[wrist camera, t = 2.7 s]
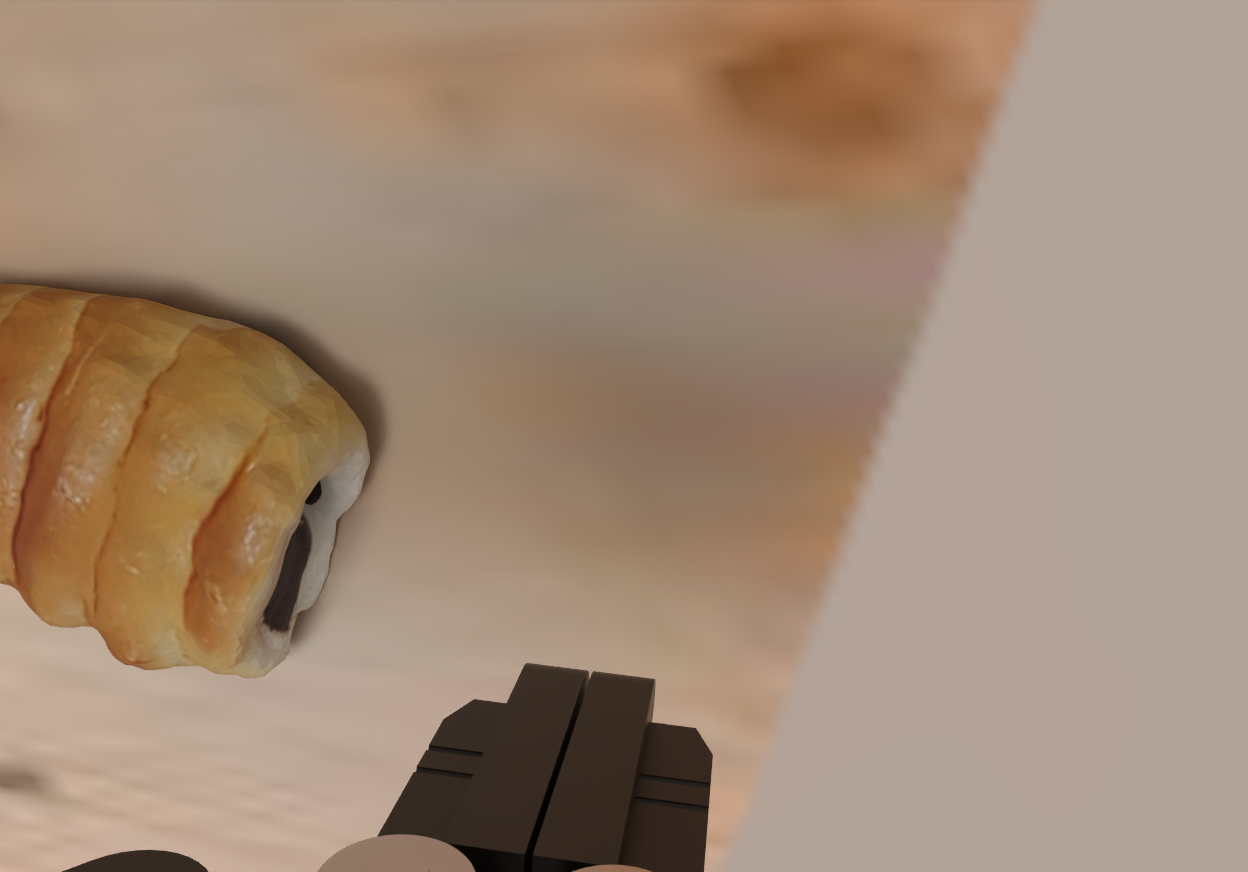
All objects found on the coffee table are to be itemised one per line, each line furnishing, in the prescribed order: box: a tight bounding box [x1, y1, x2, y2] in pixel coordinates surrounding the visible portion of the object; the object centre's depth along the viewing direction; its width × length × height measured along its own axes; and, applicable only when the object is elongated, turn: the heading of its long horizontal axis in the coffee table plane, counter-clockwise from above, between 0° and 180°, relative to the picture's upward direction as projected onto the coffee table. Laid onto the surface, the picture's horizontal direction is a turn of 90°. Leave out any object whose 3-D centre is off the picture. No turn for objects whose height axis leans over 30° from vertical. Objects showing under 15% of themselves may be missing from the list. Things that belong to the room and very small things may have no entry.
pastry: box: [0, 283, 370, 678], centre depth 20 cm, size 9×7×4 cm
